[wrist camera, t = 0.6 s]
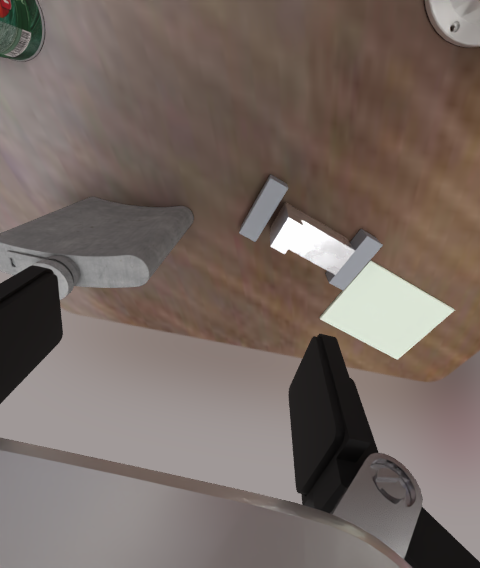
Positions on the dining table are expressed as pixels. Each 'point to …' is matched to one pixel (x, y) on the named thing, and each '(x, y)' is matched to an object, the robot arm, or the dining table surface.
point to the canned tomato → (21, 29)
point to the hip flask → (96, 243)
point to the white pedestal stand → (309, 239)
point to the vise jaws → (266, 206)
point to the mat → (385, 311)
